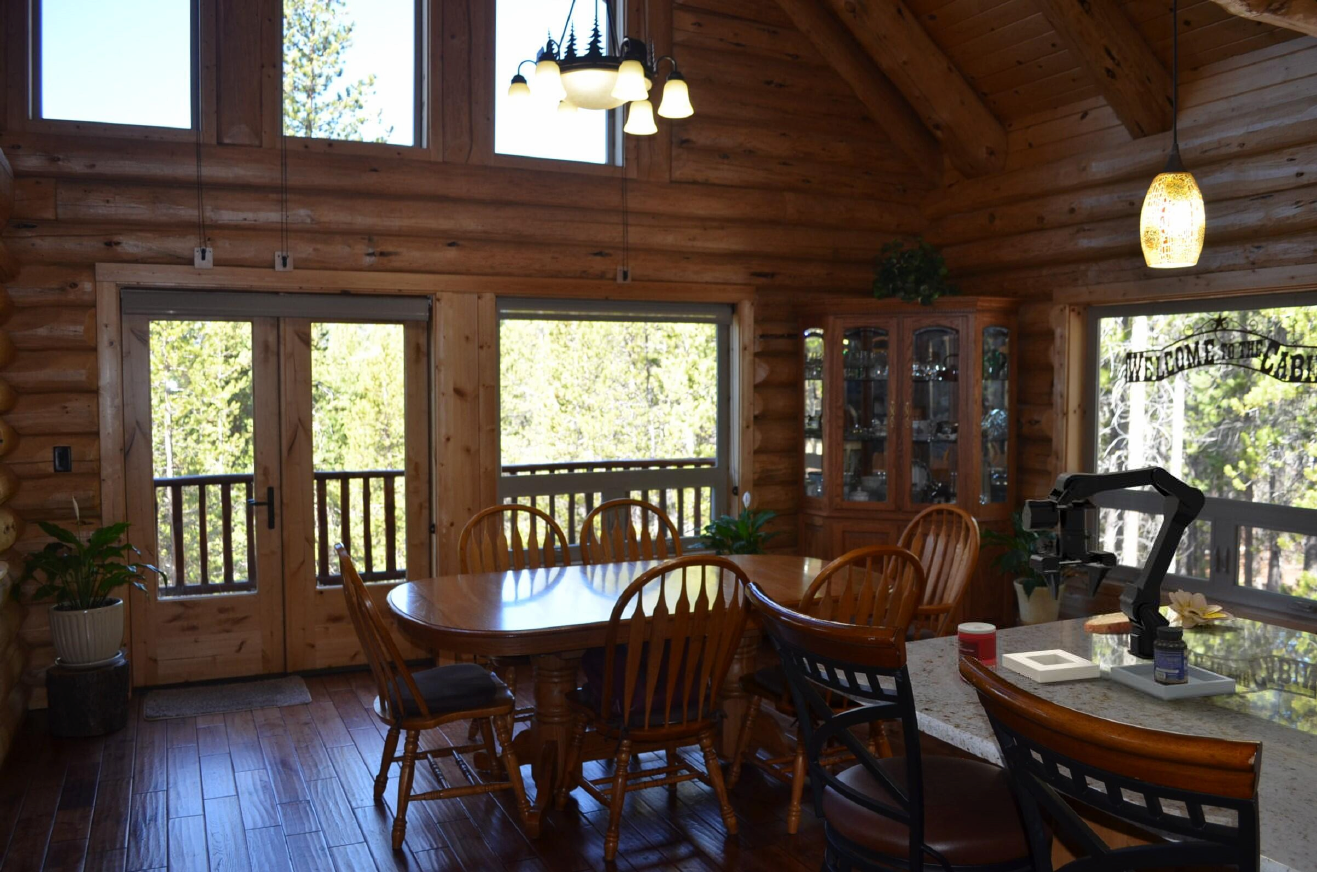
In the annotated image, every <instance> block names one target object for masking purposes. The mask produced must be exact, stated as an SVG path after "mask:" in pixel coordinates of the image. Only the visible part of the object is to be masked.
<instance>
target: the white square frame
mask: <svg viewBox="0 0 1317 872" xmlns="http://www.w3.org/2000/svg"><path fill="white" fill-rule="evenodd" d="M1001 658H1002V659H1001V660H1002V661H1001V662H1002V667H1004V668H1006V669H1008V670H1010V671H1012V672H1014V673H1017V674H1019V673H1020V675H1021V676H1023V675H1024V677H1026V678H1028V677H1029V678H1028V679H1030V678H1031V680H1032V681H1034V682H1036V683H1040V684H1042V683H1043V684H1044V683H1052V682H1061V681H1072V680H1080V679H1092V678H1100V677H1101V664H1098V663H1096V662H1093V661H1091V660H1088V659H1085V658H1083V657H1080V656H1078V655H1075V654H1073V653H1070V652H1067V651H1065V650H1062V649H1051V650H1050V649H1047V650H1038V651H1027V652H1014V653H1006V654H1002V655H1001Z"/></svg>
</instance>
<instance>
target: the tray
mask: <svg viewBox="0 0 1317 872" xmlns="http://www.w3.org/2000/svg"><path fill="white" fill-rule="evenodd" d="M1109 667H1110V668H1109V670H1110V671H1109V672H1110V674H1109V675H1110V676H1109V677H1110V680H1112V681H1114V682H1117V683H1120V684H1122V685H1123V686H1124V685H1125V686H1127V687H1129V688H1132V689H1134V690H1137V691H1140V692H1141V693H1145V694H1148V695H1150V696H1152V697H1154V698H1157V699H1160V700H1162V701H1173V700H1182V699H1193V698H1201V697H1208V696H1209V697H1210V696H1218V695H1220V696H1221V695H1228V694H1236V691H1237V689H1236V688H1237V687H1236V685H1237V684H1236V682H1237V681H1236V680H1237V679H1234V678H1231V677H1227V676H1224V675H1221V674H1219V673H1215V672H1213V671H1209V670H1207V669H1204V668H1201V667H1198V666H1195V665H1194V664H1193V665H1192V664H1189V663H1188V683H1187V684H1178V685H1168V686H1164V685H1162V684H1159V683H1157V682H1155V680H1154V662H1145V663H1136V664H1125V665H1124V664H1123V665H1114V666H1109Z"/></svg>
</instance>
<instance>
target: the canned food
mask: <svg viewBox="0 0 1317 872" xmlns="http://www.w3.org/2000/svg"><path fill="white" fill-rule="evenodd" d="M957 626H958V627H957V650H958V651H957V654H958V655H957V657H958V658H957V659H958V661H957V662H958V663H957V664H958V666H959V662H960V660H961V658H962V657H963V656H965V655H970V656H972V657H974V658H976V659H977V660H978V661H980V663H982V664H983V665H985V666H986V667H988V668H989V669H990V670H992V671H994V672H996V673H998V670H997V669H998V668H997V665H998V664H997V629H996V626H995V625H993V624H991V623H986V622H985V623H984V622H964V623H960V624H958V625H957ZM958 675H959V679H960V680H961V681H963V682H966V681H965V680H963V678H962V677H961V676H960V674H959V673H958Z"/></svg>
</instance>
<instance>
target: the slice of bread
mask: <svg viewBox="0 0 1317 872" xmlns="http://www.w3.org/2000/svg"><path fill="white" fill-rule="evenodd" d="M1132 626H1135V625H1134V624H1131V623H1130V622H1129V620H1128V617H1127V616H1126V615H1124V613H1123V612H1122V613H1114V614H1110V615H1103V616H1100V617H1096V618H1093V619H1090V620H1088V621H1086V622H1085V623H1084V627H1083V630H1084V631H1085V632H1086V633H1089V634H1096V635H1097V634H1098V635H1101V634H1103V635H1105V634H1107V635H1108V634H1121V633H1122V634H1127V633H1132Z"/></svg>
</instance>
